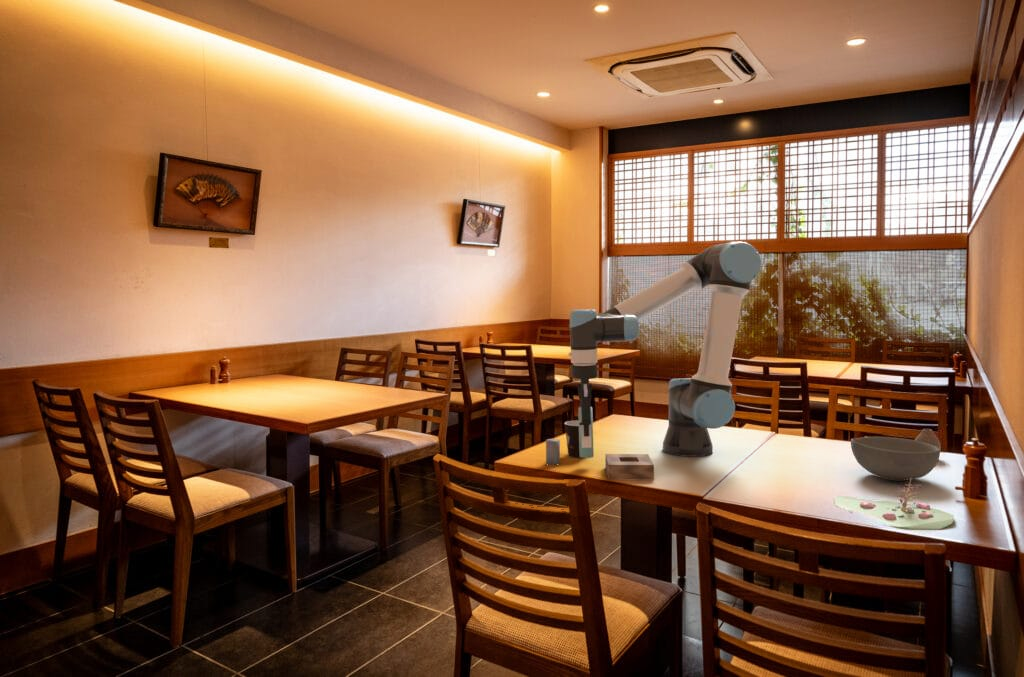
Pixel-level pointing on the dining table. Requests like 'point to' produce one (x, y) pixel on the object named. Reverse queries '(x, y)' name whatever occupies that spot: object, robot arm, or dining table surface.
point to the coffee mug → (572, 438)
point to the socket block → (629, 466)
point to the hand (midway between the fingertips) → (586, 445)
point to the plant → (899, 512)
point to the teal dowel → (583, 451)
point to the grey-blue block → (552, 451)
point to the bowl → (895, 457)
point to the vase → (928, 438)
